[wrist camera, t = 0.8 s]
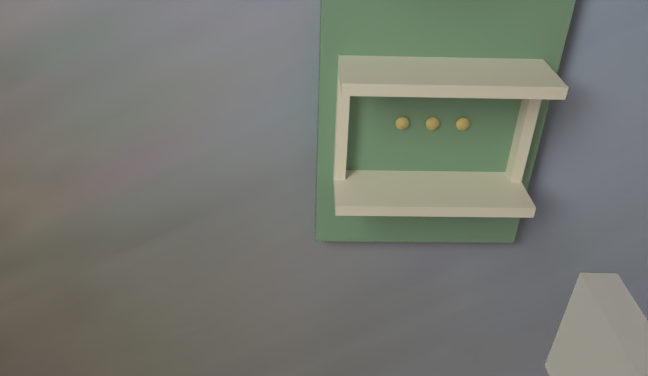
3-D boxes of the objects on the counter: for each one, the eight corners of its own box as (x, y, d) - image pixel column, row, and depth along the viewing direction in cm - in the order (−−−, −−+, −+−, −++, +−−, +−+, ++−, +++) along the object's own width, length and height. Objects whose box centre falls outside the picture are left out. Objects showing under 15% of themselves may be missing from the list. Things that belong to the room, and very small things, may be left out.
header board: (322, -45, 28) (324, -20, 24) (574, -39, 28) (617, -13, 24) (315, 229, 37) (315, 280, 33) (508, 230, 37) (532, 282, 33)
